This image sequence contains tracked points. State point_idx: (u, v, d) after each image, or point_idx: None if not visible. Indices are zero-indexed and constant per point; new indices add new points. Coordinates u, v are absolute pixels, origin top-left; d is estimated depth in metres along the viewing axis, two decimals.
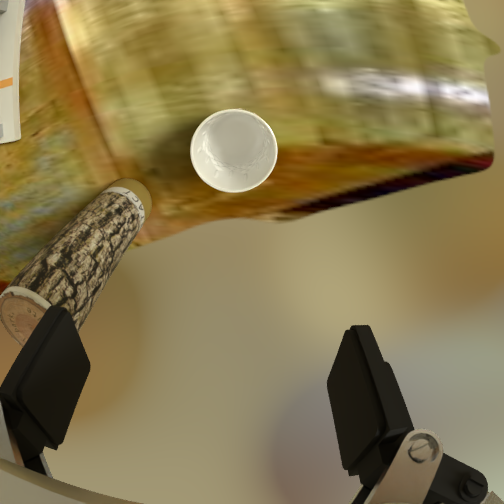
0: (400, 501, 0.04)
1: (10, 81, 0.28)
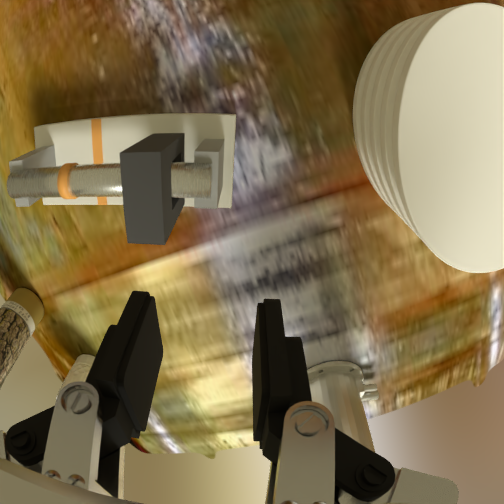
0: (309, 480, 0.05)
1: (101, 202, 0.33)
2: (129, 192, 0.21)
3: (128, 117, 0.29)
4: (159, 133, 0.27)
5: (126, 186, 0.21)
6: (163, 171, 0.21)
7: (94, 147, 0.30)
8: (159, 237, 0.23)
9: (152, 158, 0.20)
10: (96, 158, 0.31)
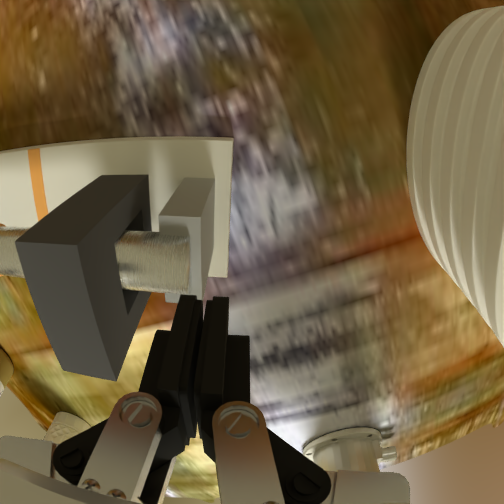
0: (252, 481, 0.05)
1: None
2: (44, 306, 0.11)
3: (73, 146, 0.18)
4: (110, 175, 0.16)
5: (37, 296, 0.10)
6: (93, 273, 0.11)
7: (35, 189, 0.20)
8: (106, 371, 0.12)
9: (65, 256, 0.09)
10: (39, 204, 0.20)
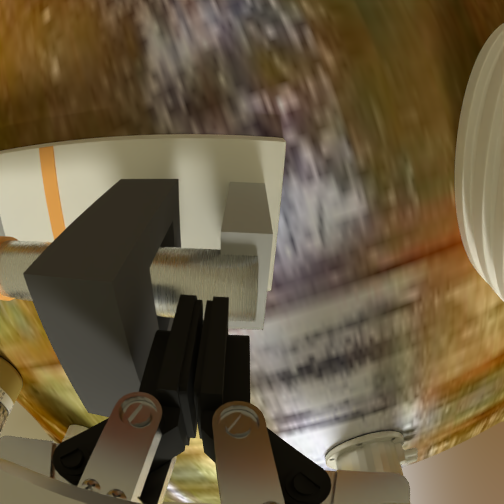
0: (252, 481, 0.05)
1: None
2: (66, 349, 0.09)
3: (95, 143, 0.16)
4: (131, 179, 0.14)
5: (55, 338, 0.08)
6: (130, 312, 0.09)
7: (48, 193, 0.18)
8: None
9: (95, 294, 0.07)
10: (53, 210, 0.18)
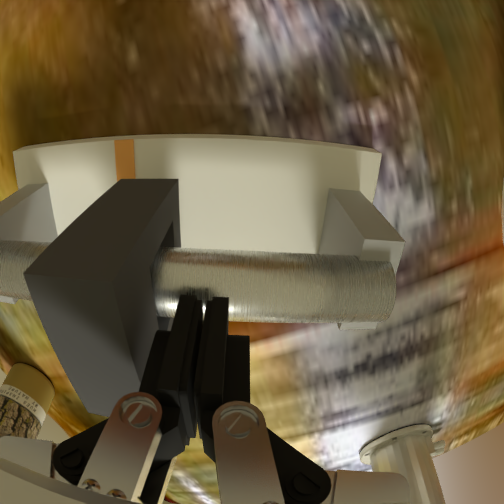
0: (252, 481, 0.05)
1: None
2: (66, 349, 0.09)
3: (188, 140, 0.16)
4: (131, 179, 0.14)
5: (55, 338, 0.08)
6: (130, 312, 0.09)
7: None
8: None
9: (96, 294, 0.07)
10: None
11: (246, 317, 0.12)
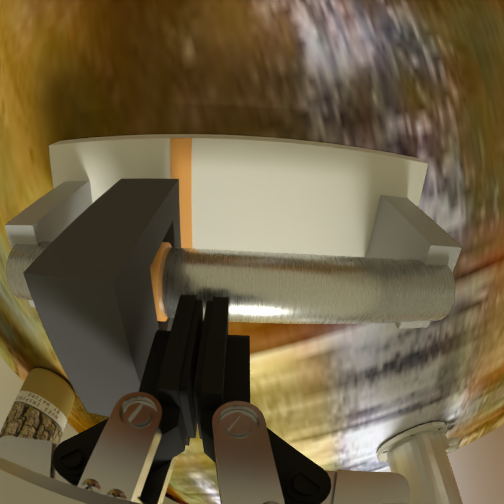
0: (252, 481, 0.05)
1: None
2: (65, 349, 0.09)
3: (250, 142, 0.17)
4: (132, 179, 0.14)
5: (55, 337, 0.08)
6: (130, 312, 0.09)
7: None
8: None
9: (96, 294, 0.07)
10: None
11: (329, 319, 0.13)
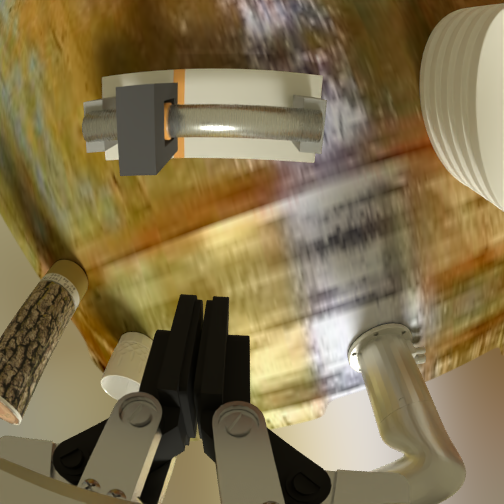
0: (252, 481, 0.05)
1: (178, 155, 0.33)
2: (123, 124, 0.20)
3: (216, 69, 0.28)
4: None
5: (120, 118, 0.20)
6: (156, 103, 0.20)
7: None
8: (151, 167, 0.22)
9: (146, 90, 0.19)
10: None
11: (248, 129, 0.25)
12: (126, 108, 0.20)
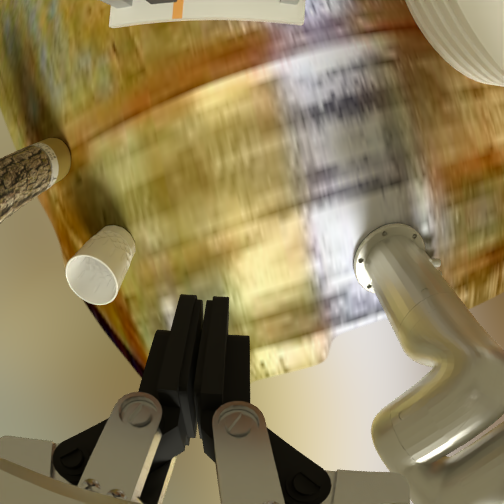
0: (252, 481, 0.05)
1: (176, 16, 0.29)
2: None
3: None
4: None
5: None
6: None
7: None
8: None
9: None
10: None
11: None
12: None
